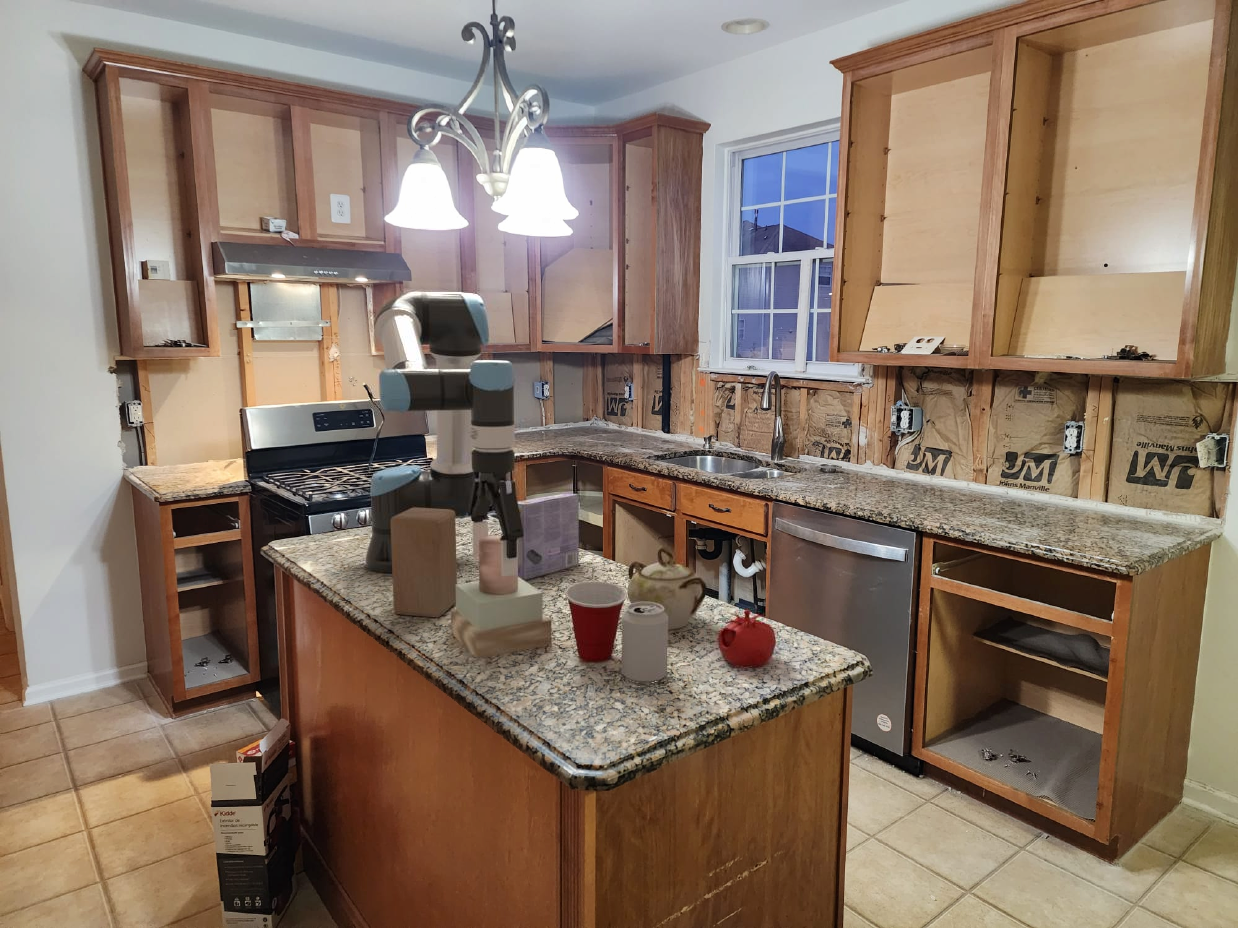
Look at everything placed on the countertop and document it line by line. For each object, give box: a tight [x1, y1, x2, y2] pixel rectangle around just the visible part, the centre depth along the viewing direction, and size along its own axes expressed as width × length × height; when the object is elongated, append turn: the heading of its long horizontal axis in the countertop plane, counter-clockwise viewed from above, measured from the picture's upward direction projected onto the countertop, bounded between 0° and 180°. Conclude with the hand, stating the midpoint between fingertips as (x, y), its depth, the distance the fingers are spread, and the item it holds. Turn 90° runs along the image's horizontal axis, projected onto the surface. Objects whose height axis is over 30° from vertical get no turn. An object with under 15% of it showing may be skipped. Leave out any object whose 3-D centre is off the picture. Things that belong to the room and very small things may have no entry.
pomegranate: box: [717, 609, 777, 668], centre depth 139 cm, size 10×10×9 cm
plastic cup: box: [564, 580, 628, 664], centre depth 139 cm, size 11×11×12 cm
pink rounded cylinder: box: [478, 535, 518, 594], centre depth 146 cm, size 7×7×9 cm
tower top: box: [455, 577, 544, 631], centre depth 147 cm, size 12×12×5 cm
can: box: [621, 602, 669, 684], centre depth 131 cm, size 8×8×12 cm
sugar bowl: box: [626, 547, 708, 631], centre depth 156 cm, size 20×15×15 cm
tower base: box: [450, 608, 553, 660], centre depth 148 cm, size 14×14×5 cm
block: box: [391, 507, 458, 618], centre depth 162 cm, size 10×10×20 cm
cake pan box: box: [517, 493, 580, 582], centre depth 189 cm, size 19×5×18 cm, turn 139°
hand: (494, 565), depth 145 cm, fingers open, 13 cm apart
